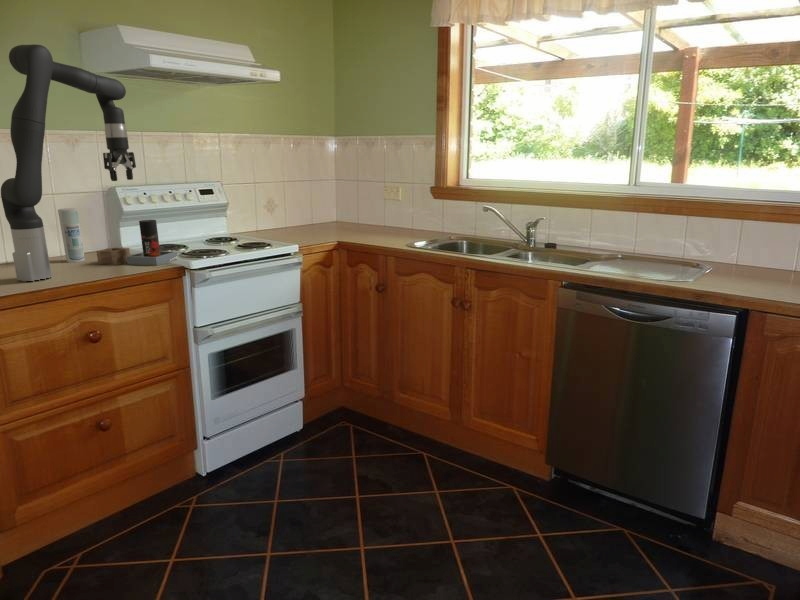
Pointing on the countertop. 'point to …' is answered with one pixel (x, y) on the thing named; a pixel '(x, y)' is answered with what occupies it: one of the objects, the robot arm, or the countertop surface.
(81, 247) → the spray can
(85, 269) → the countertop surface
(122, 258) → the brown square block
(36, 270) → the robot arm
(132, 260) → the tray
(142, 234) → the deodorant
